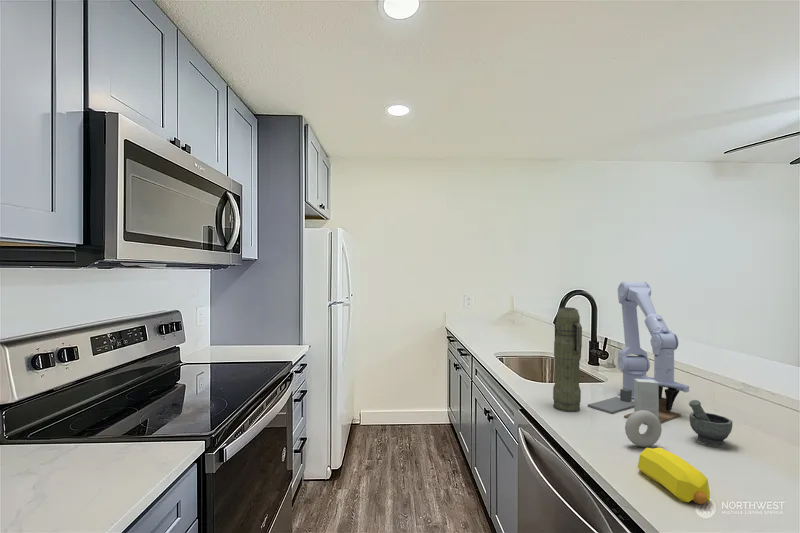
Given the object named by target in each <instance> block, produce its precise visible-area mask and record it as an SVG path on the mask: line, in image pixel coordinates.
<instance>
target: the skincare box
mask: <svg viewBox="0 0 800 533" xmlns="http://www.w3.org/2000/svg"><path fill="white" fill-rule="evenodd" d="M658 387H659V383H658V382H656V381H655V380H651V379H634V399H633V400H634V407H633V408H634V412H636V411H639V410H646V411H650V412H652V413H653V414H655V415H656V416H657V417H658V419H659V389H658Z"/></svg>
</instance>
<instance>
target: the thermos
mask: <svg viewBox="0 0 800 533" xmlns="http://www.w3.org/2000/svg"><path fill="white" fill-rule="evenodd" d="M580 317H581V316H580V313H579V310H578V308H577V309H576V307H560V308H558V310H557V313H556V320H555V322H554V342H553V356H554V360H555V362H554V363H555V365H554V366H555V367H554V371H555V372H554V384H553V388H552V389H553V390H552V399H553V404H552V405H553V408H554V409H555V410H558V411H561V410H562V412H568V413H569V412H570V413H574V412H575V413H576V412H579V411H581V407H580V405H581V401H582V400H581V397H582V396H581V395H582V390H581V388H580V362H581V359H582V346H583V343H582V342H583V341H582V340H583V338H582V337H583V332H582V331H583V330H582V329H583V327H582V324H581V322H580V321H581V320H580V319H581V318H580Z"/></svg>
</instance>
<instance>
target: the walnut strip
mask: <svg viewBox="0 0 800 533" xmlns="http://www.w3.org/2000/svg"><path fill="white" fill-rule="evenodd" d="M632 413H634V412H631V413H628V414H625V415H623V418H624V419H628V417H629V416H630V415H631V414H632ZM681 416H682V414H681V413H679V412H675V411H672V410H667V409H666V397H662V398H659V421H660V423H661V424H662V423H666V422H668V421H670V420H673V419H677V418H678V417H681ZM643 424H645V425H647V424H646V423H643Z"/></svg>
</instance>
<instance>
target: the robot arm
mask: <svg viewBox="0 0 800 533" xmlns="http://www.w3.org/2000/svg"><path fill="white" fill-rule="evenodd" d="M651 296H652V288H651V286H650V284H649V283H648V282H647V281H645V282H644V281H643V282H642V281H641V282H637V281H634V282H632V281H631V282H630V281H627V282H626V281H621V282H620V284H619V285H618V287H617V298H618V303H619V304H621V313H622V323H623V334H624V335H623V336H624V345H625V346H624V347H623V348H622V349H621V350H619V351H618V356H617V358H618V359H617V366H618V369H619V370H620V372H621V373H622V389H624V388H626V389H630V390H632V400H634V379H651V380H655V381H656V382H658V383H659V387H658V389H659V398H662V395H663V389H664V388H665V389H664V394H665V398H666V409H667V410H670V411H672V409H673V406H674V402H675V400H676V398H677V396H678V394H679V393H680V392H683V393H689V392H690V385H687V384H683V383H680V382H676V381H675V350H676V351H677V349H678V348H679V339H678V335H677V334H676V333H675V332H673V331H672V330H669V328H668V326H667V324H666V322H665V320H664V318H663V317H662V315H660V314H657V311H656V309H655V306H654V304H653V302H652V299H651ZM638 307H639V308H640V310H641V311H642V313H643V315H644V316H645V319H644V324H645V326H646V328H647V330H648V332H649V335H650V336H651V337H650V346H651V347H652V348H651V349H652V354H653V355H654V358H653V359H654V362H653V365H654V366H653V367H654V369H653V371H654V373H653V374H654V375H653V377H652V376H651V377H650V376H648V375H647V373H648V372H649V370H650V369H651V368H650V367H651V362H650V359H649V356H648V352H646V350H644V349H642V348H641V341H640V330H639V319H638V311H637V310H638V309H637V308H638ZM617 395H618V396H620V392H618V393H617Z"/></svg>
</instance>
